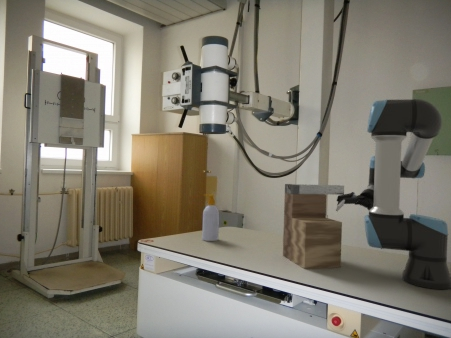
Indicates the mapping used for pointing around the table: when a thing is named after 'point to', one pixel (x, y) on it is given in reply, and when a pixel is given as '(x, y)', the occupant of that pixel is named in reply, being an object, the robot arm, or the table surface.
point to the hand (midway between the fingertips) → (353, 215)
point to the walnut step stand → (310, 232)
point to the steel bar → (314, 189)
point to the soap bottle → (210, 221)
